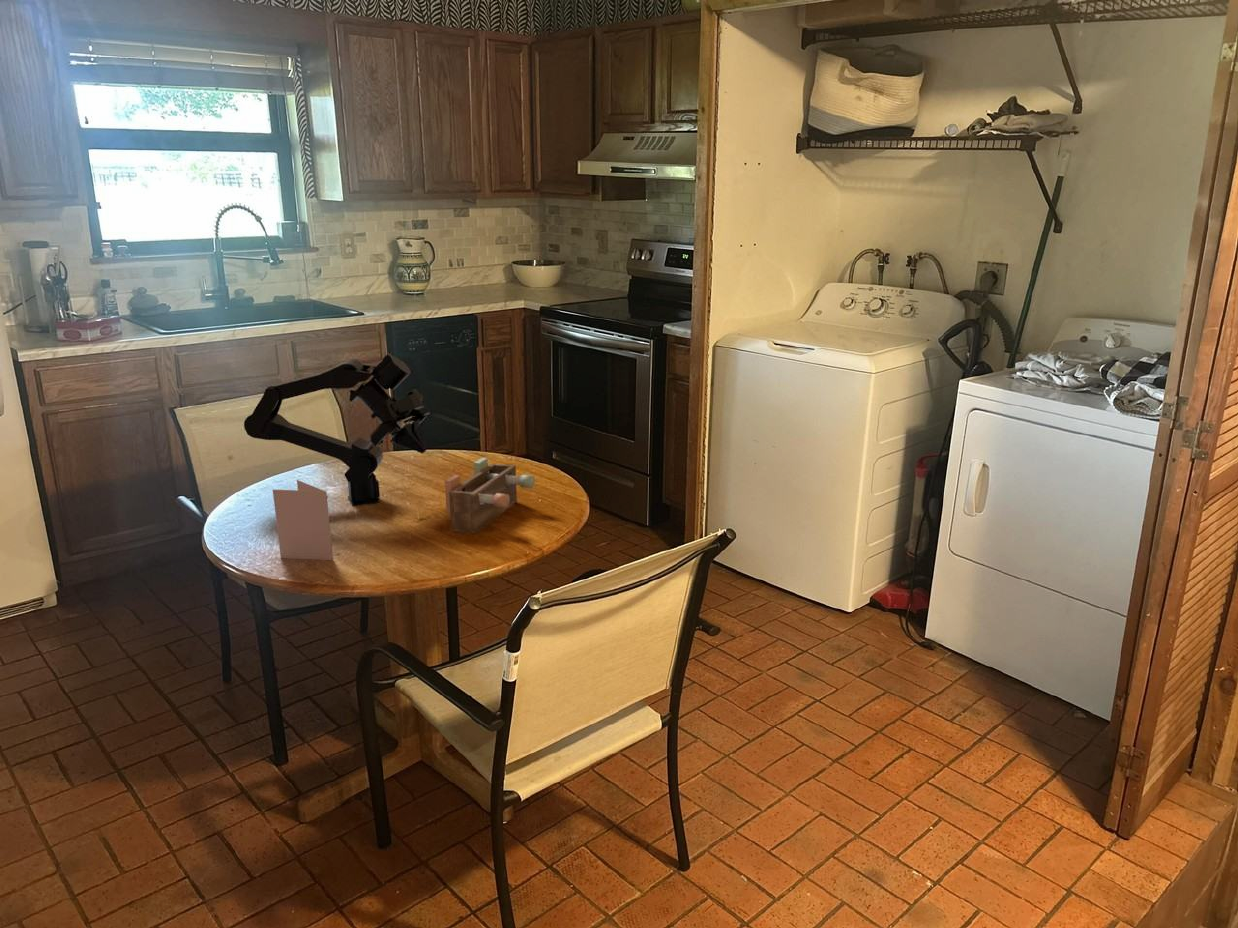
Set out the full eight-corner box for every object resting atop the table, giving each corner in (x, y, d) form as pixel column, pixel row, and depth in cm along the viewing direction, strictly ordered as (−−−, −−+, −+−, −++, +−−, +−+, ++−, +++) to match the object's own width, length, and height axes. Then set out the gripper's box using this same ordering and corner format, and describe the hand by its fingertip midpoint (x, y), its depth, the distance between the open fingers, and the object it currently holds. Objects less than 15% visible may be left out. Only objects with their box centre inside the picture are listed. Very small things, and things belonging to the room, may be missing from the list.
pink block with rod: (446, 514, 207) (444, 480, 205) (456, 507, 211) (454, 474, 209) (503, 521, 203) (501, 486, 200) (511, 514, 207) (510, 480, 204)
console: (451, 530, 206) (449, 491, 203) (494, 499, 226) (492, 463, 223) (475, 533, 204) (473, 494, 201) (516, 501, 224) (515, 465, 221)
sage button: (475, 494, 220) (473, 462, 217) (483, 488, 224) (482, 457, 221) (528, 500, 215) (527, 468, 213) (536, 495, 219) (535, 463, 217)
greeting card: (337, 558, 190) (330, 490, 186) (304, 569, 185) (296, 499, 181) (307, 544, 198) (300, 478, 193) (275, 555, 192) (267, 487, 188)
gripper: (377, 389, 205) (424, 441, 205) (420, 373, 222) (463, 421, 222) (350, 420, 210) (395, 471, 210) (394, 402, 226) (436, 449, 226)
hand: (424, 451), depth 217 cm, fingers closed
